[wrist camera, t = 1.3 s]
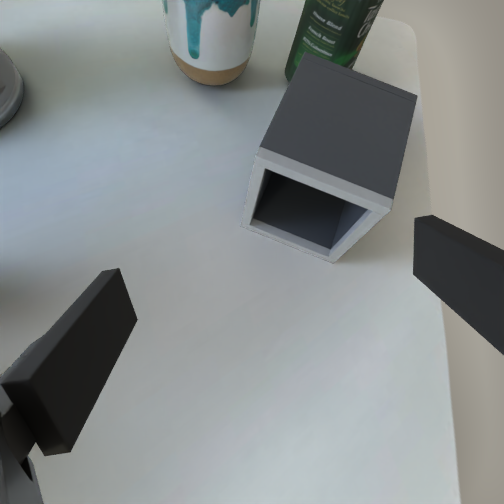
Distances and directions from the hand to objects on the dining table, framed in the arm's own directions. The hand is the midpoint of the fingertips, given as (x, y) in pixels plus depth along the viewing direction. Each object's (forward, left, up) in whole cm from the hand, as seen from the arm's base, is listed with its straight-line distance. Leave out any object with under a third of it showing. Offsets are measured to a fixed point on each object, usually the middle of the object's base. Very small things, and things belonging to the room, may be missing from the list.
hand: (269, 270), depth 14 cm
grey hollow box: (-11, +13, -18) cm, 25 cm away
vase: (-33, +10, -18) cm, 39 cm away
